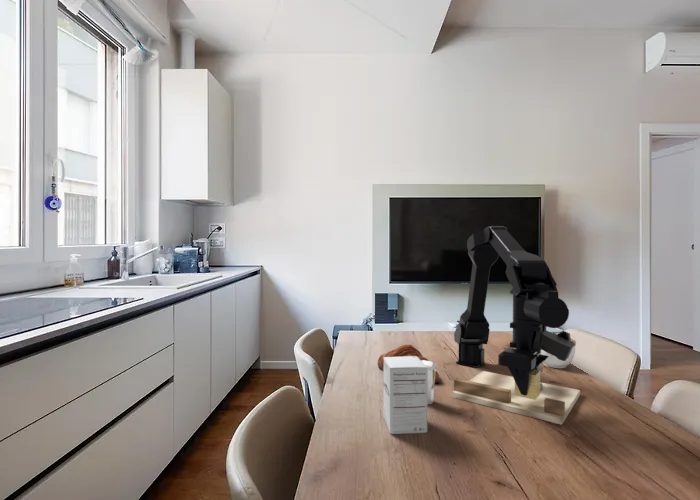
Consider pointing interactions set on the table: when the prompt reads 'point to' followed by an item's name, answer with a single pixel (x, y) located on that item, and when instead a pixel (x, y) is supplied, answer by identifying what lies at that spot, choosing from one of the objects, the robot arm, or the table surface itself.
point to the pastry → (401, 352)
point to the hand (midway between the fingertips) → (526, 391)
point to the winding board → (516, 397)
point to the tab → (531, 386)
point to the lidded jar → (557, 363)
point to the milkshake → (430, 380)
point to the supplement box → (405, 395)
